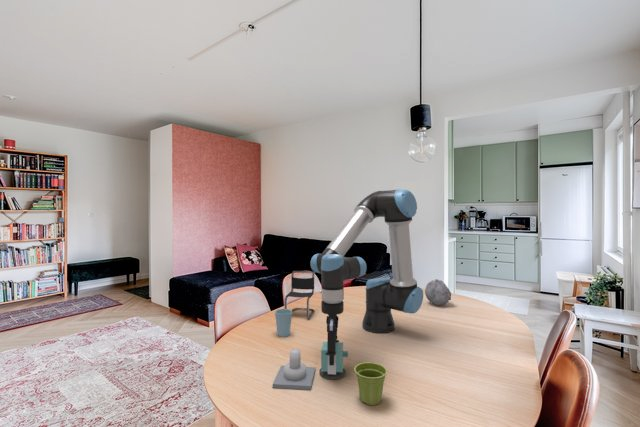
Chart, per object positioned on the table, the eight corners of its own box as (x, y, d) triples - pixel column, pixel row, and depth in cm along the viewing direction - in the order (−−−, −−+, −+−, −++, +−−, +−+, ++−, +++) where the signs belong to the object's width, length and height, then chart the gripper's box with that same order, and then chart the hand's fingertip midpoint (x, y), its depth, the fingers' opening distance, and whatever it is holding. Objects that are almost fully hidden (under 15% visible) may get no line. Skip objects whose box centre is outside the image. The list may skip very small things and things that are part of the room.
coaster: (346, 367, 111) (346, 365, 111) (345, 380, 102) (345, 378, 102) (320, 366, 112) (320, 364, 112) (317, 379, 103) (317, 377, 103)
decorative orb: (455, 308, 180) (455, 282, 180) (429, 308, 180) (429, 282, 180) (445, 301, 194) (445, 277, 194) (421, 301, 195) (421, 277, 195)
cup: (294, 336, 140) (294, 312, 140) (277, 339, 137) (277, 314, 137) (289, 330, 147) (289, 308, 147) (273, 333, 144) (273, 310, 144)
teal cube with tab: (321, 371, 104) (321, 350, 104) (323, 361, 111) (323, 341, 111) (347, 372, 103) (347, 351, 103) (348, 362, 110) (348, 342, 110)
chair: (315, 310, 177) (315, 271, 177) (308, 320, 160) (308, 277, 160) (293, 309, 179) (293, 270, 179) (284, 319, 162) (284, 276, 162)
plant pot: (351, 391, 97) (351, 362, 97) (381, 389, 97) (381, 361, 97) (357, 410, 87) (357, 378, 87) (391, 408, 88) (391, 377, 88)
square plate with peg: (315, 370, 109) (315, 344, 109) (310, 390, 97) (310, 360, 97) (281, 368, 110) (281, 343, 110) (272, 387, 98) (272, 358, 98)
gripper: (324, 292, 118) (324, 354, 118) (318, 309, 98) (318, 383, 98) (344, 293, 117) (344, 355, 117) (342, 309, 97) (342, 384, 97)
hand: (332, 367), depth 107 cm, fingers closed on teal cube with tab, 7 cm apart
